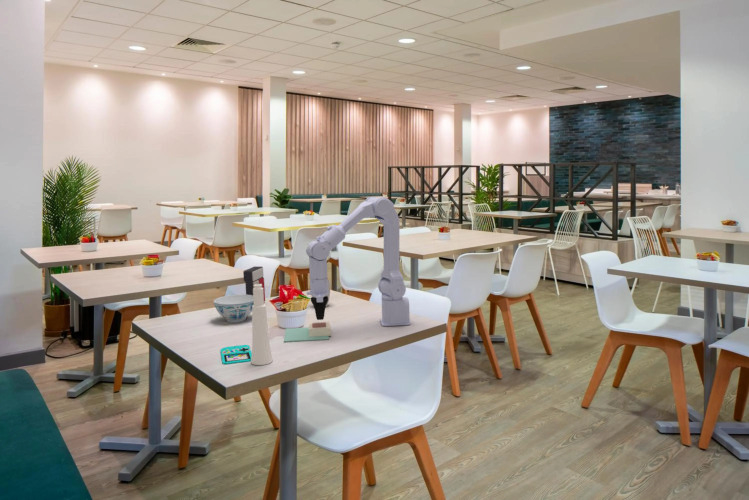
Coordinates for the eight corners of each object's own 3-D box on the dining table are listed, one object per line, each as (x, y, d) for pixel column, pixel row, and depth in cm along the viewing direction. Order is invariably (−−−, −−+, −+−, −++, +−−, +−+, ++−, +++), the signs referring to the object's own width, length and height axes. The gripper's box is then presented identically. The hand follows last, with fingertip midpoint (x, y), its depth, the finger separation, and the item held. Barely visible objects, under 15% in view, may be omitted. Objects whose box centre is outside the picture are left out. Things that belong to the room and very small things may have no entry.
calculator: (255, 308, 214) (253, 271, 212) (245, 308, 215) (243, 270, 213) (266, 302, 225) (264, 266, 223) (256, 301, 226) (254, 266, 224)
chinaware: (261, 314, 205) (260, 294, 204) (251, 325, 190) (250, 303, 189) (222, 314, 205) (221, 294, 204) (209, 325, 190) (207, 304, 189)
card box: (329, 321, 181) (308, 322, 181) (330, 327, 174) (308, 328, 173) (329, 328, 182) (308, 329, 181) (331, 335, 174) (309, 336, 173)
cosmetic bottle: (246, 364, 150) (242, 286, 147) (258, 357, 156) (254, 281, 153) (265, 366, 148) (261, 287, 145) (276, 359, 154) (273, 282, 151)
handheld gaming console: (248, 343, 167) (253, 359, 153) (248, 346, 167) (253, 362, 153) (220, 346, 164) (222, 362, 150) (220, 350, 164) (222, 366, 150)
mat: (327, 327, 185) (327, 326, 185) (328, 339, 171) (328, 338, 171) (285, 329, 183) (285, 328, 183) (284, 342, 169) (283, 341, 169)
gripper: (306, 274, 182) (307, 314, 184) (306, 283, 167) (307, 325, 169) (327, 273, 182) (328, 313, 184) (329, 282, 168) (330, 324, 170)
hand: (320, 319), depth 177 cm, fingers closed
